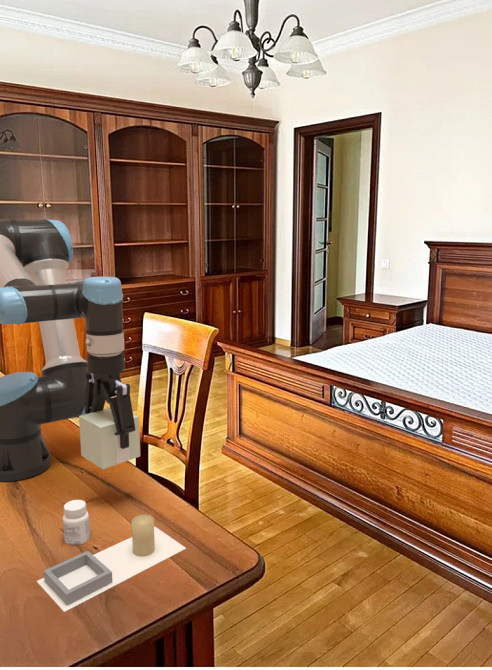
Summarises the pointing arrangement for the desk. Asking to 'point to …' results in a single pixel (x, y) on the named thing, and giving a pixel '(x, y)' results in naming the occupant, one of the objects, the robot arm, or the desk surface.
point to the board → (108, 565)
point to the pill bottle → (76, 522)
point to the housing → (104, 438)
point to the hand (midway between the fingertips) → (110, 454)
